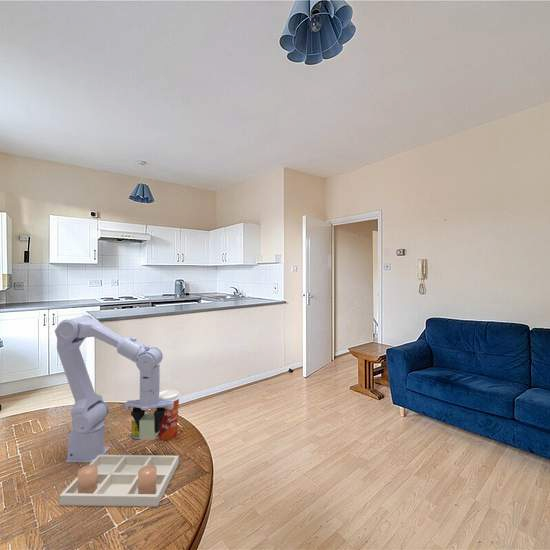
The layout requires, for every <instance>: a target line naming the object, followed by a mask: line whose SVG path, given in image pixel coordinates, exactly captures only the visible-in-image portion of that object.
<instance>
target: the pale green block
mask: <svg viewBox="0 0 550 550" xmlns="http://www.w3.org/2000/svg"><path fill="white" fill-rule="evenodd" d="M158 433H159V431H158ZM158 433H155V418H154V412H153V413H151V412H150V413H148V412H146V414H145V415H144V416H143V417H142V418H141V419H140V420H139V441H142V440H144V441H145V440H146V441H150V440H151V441H154V440H155V439H156V437H157V436H159V434H158Z"/></svg>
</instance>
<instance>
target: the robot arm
mask: <svg viewBox="0 0 550 550" xmlns="http://www.w3.org/2000/svg"><path fill="white" fill-rule="evenodd" d="M54 333H55V336H56V351H57V354H58V356H59V360H60V362H61V365H62V367H63V371H64V374H65V376H66V379H67V382H68V385H69V388H70V391H71V394H72V397H73V399H74V404H73V407H72V409H71V411H70V414H71V427H72V429H71V431H70V432H69V435H68V436H67V447H66V448H67V459H66V460H65V462H66V463H67V462H68V463H91V462H92V461H93V460H94V459H95V458H96V457H97V456H98V455H105V454H106V452H107V451H108V450H109V449H110V448H111V446H107V445H105V422H106V418H107V417H108V415H109V413H110V408H109V405H108V404H107V402H106V401H104V399H103V396H102V395H100V394H98V393H96V392H95V389H94V386H93V383H92V381H91V378H90V375H89V373H88V369H87V367H86V364H85V360H84V358H83V355H82V352H81V350H80V349H81V348H80V347H81V345H83V342H84V341H85V340H86V338H95V339H97V340H100V341H101V342H104V343H106V344H108V345H109V346H112V347H114V348H116V350H117V351H116V352H117V354H119V355H121V356H122V357H124V358H126V359H128V360H130V361H132V362H133V363H135V364H136V367H137V369H138V371H139V399H133V400H127V401H126V402H125V403H124V410H129V409H132V410H131V413H130V416H131V418H132V417H133V418H134V420H135V422H136V424H137V427H138V430H139V420H140V419H141V418H142V417H143V416H144V414H145V410H146V411H148V410H149V409H151V410H152V409H156V410H155V411H154V412H153V414H154V418H155V433H158V431H159V430H160V425H161V421H162V418H163V416H164V413H165V411H166V409H169V410H172V409H173V407H174V401H168V400H163V399H159V393H160V384H161V383H160V378H161V377H160V376H161V375H160V374H161V373H160V370H161V369H160V364H161V362H162V360H163V358H164V356H163V352H162V351H161V349H159V348H158V347H156V346H152V347H151V346H149V345H148V344H143V343H141V342H140V341H138V340H137V338H136V337H135V336H132V337H131V336H126V337H123V336H121V335H119V334H118V333H117V332H114V331H113V330H111V329H110V328H109V327H107V326H105V325H104V324H102V323H101V322H100V321H99V320H98V319H97V318H94V317H93V316H92V315H87V314H86V315H82V316H77V317H73V318H69V319H67V318H66V319H63V320H62V321H60V322H59V323H58V325H57V327H55V330H54Z"/></svg>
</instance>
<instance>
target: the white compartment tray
mask: <svg viewBox="0 0 550 550" xmlns="http://www.w3.org/2000/svg"><path fill="white" fill-rule="evenodd" d="M179 460H180V456H179V455H160V454H159V455H155V454H154V455H153V454H152V455H151V454H149V455H143V454H142V455H141V454H138V455H137V454H103V455H98V456H97V457H96V458H95V459H94V460H93V461H92V462H89V464H88V465H91V464H95V465H97V466H98V488H97V489H96V491H95V492H94V493H93V494H86V493H78V476H77V477H76V478H75V479H74V480H73V481H72V482H71V483H70V484H69V485H68V486H67V487H66V488H65V489H64V490H63V491H62V492H61V493H60V495H59V501H58V503H59V504H58V505H59V506H62V507H63V506H65V507H66V506H75V507H76V506H77V507H78V506H80V507H81V506H84V507H85V506H87V507H154V508H155V507H156V508H157V507H158V506H159V504H160V502H161V501H162V498H163V497H164V494H165V492H166V490H167V488H168V486H169V485H170V482H171V480H172V478H173V476H174V474H175V472H176V471H177V468H178V466H179V465H180V461H179ZM147 465H154V466H156V468H157V479H156V494H138V471H139V470H140V469H141V468H142V467H144V466H147Z"/></svg>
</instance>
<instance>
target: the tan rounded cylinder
mask: <svg viewBox="0 0 550 550" xmlns="http://www.w3.org/2000/svg"><path fill="white" fill-rule="evenodd" d="M77 477H78V493H86V494H93V493H94V492H95V491H96V489H97V488H98V466H97V465H95V464H91V465H89V464H86V465H85V466H82V467H80V468H79V469H78V471H77Z"/></svg>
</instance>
